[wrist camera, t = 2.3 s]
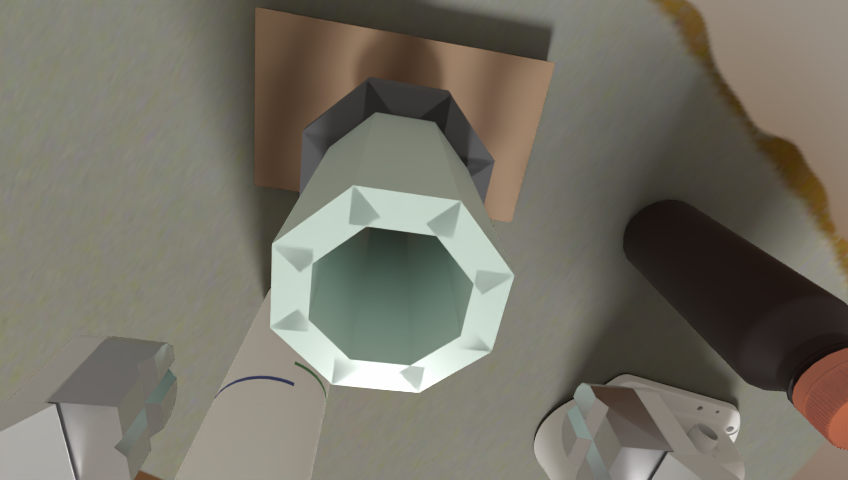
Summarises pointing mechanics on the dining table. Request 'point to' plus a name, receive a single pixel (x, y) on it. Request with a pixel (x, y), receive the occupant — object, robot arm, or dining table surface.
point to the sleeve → (389, 261)
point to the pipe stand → (398, 61)
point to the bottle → (749, 309)
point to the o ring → (400, 103)
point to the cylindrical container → (261, 414)
